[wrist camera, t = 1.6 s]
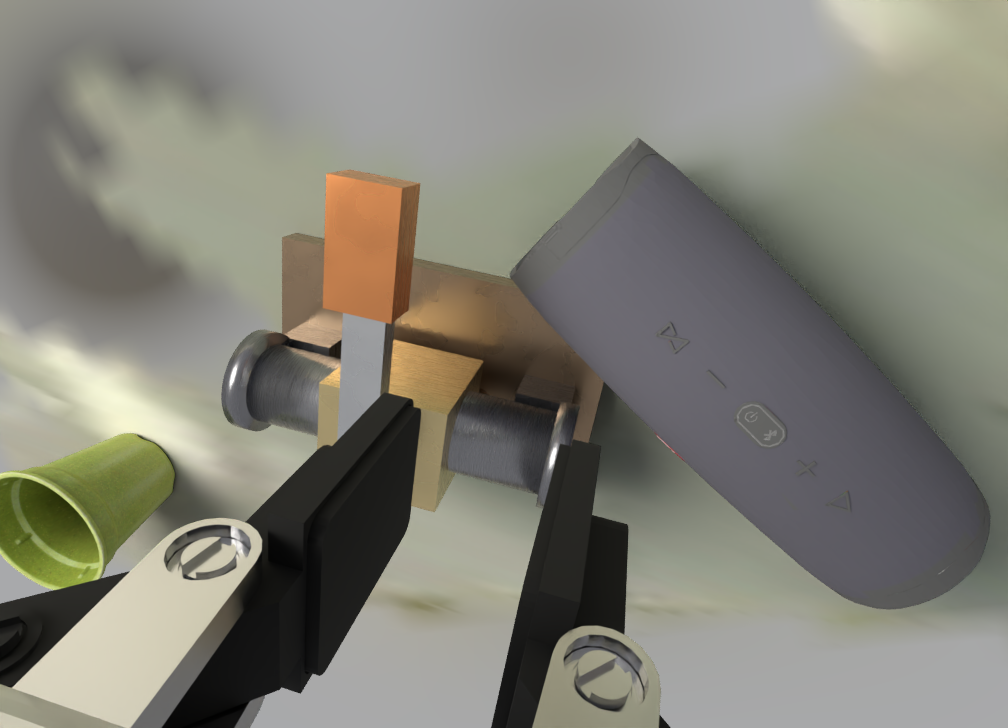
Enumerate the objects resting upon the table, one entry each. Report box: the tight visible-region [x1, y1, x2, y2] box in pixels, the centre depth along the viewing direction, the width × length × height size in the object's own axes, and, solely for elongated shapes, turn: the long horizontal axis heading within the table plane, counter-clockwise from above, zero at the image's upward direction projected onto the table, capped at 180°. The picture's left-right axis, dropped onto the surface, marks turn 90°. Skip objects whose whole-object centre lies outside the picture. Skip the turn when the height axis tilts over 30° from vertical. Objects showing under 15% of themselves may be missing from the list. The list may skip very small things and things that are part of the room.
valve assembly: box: [222, 233, 604, 512], centre depth 32 cm, size 20×12×11 cm, turn 81°
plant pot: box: [0, 434, 175, 590], centre depth 42 cm, size 9×9×9 cm
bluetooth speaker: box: [510, 138, 990, 609], centre depth 28 cm, size 23×9×10 cm, turn 48°
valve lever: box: [323, 170, 420, 440], centre depth 24 cm, size 14×3×2 cm, turn 171°
